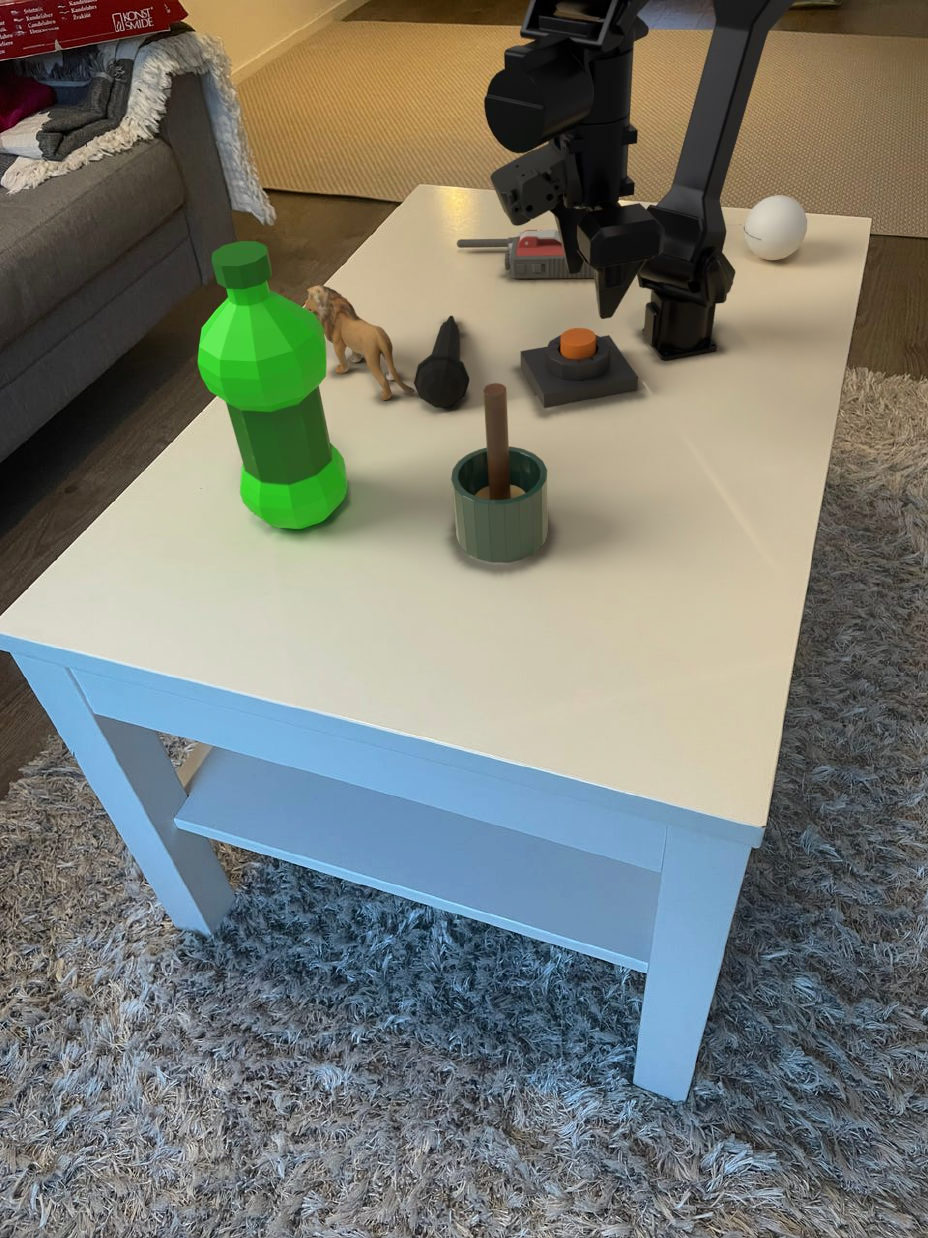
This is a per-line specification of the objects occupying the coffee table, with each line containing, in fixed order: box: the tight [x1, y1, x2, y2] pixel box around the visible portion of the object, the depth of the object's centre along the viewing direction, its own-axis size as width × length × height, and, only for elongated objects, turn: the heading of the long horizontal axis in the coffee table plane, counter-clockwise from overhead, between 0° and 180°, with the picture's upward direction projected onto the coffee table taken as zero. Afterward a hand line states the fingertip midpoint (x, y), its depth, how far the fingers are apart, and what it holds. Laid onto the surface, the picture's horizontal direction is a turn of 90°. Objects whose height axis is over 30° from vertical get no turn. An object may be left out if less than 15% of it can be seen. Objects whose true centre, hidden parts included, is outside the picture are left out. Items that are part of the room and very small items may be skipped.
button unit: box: [519, 334, 639, 409], centre depth 101 cm, size 10×9×4 cm
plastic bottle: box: [197, 240, 348, 530], centre depth 81 cm, size 10×10×25 cm
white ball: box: [725, 194, 808, 261], centre depth 117 cm, size 10×7×7 cm
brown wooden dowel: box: [475, 382, 525, 500], centre depth 80 cm, size 5×5×14 cm
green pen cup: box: [450, 445, 549, 564], centre depth 83 cm, size 8×8×7 cm
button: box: [560, 327, 597, 359], centre depth 99 cm, size 4×4×2 cm
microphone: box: [413, 315, 470, 408], centre depth 105 cm, size 6×6×20 cm
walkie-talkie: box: [456, 229, 594, 280], centre depth 120 cm, size 9×4×20 cm
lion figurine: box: [303, 284, 416, 401], centre depth 103 cm, size 15×5×9 cm, turn 50°
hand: (589, 294), depth 89 cm, fingers open, 9 cm apart
